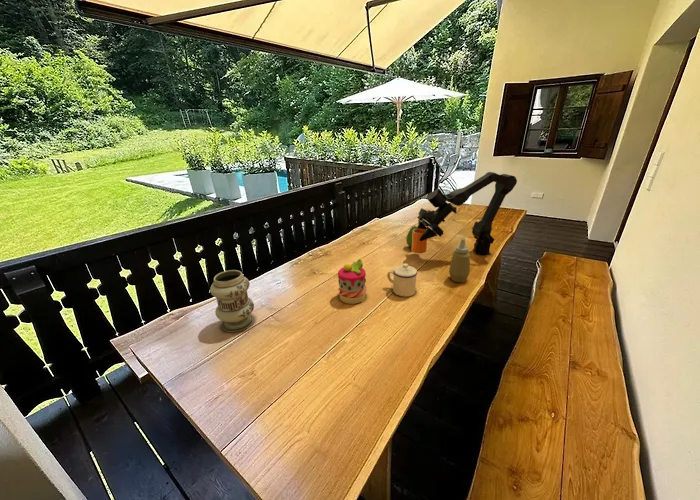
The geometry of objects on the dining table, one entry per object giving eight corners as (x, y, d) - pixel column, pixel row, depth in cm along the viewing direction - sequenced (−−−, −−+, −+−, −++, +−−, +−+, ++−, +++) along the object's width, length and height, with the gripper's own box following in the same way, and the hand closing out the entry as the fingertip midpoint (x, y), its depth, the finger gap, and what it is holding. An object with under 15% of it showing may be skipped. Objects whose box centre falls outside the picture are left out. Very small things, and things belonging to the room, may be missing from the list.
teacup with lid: (419, 289, 119) (421, 262, 114) (409, 299, 112) (411, 271, 107) (392, 281, 125) (393, 256, 121) (381, 290, 118) (382, 264, 114)
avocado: (414, 251, 154) (416, 229, 150) (403, 247, 160) (404, 226, 155) (424, 247, 159) (425, 225, 155) (412, 243, 165) (413, 222, 160)
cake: (346, 307, 108) (345, 269, 102) (334, 293, 117) (332, 258, 111) (371, 299, 113) (371, 263, 107) (357, 287, 121) (357, 253, 116)
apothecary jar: (227, 312, 107) (218, 267, 100) (261, 312, 106) (253, 266, 99) (212, 334, 95) (200, 284, 89) (249, 334, 95) (240, 284, 88)
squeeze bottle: (469, 284, 121) (476, 243, 114) (449, 283, 123) (453, 242, 116) (466, 275, 128) (472, 236, 122) (447, 274, 130) (451, 235, 123)
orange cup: (426, 248, 147) (428, 229, 143) (424, 254, 141) (426, 234, 137) (413, 247, 149) (414, 228, 145) (410, 252, 143) (411, 232, 139)
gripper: (422, 198, 145) (399, 221, 148) (439, 207, 128) (413, 234, 131) (436, 212, 149) (413, 235, 152) (454, 223, 132) (428, 249, 135)
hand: (416, 237), depth 142 cm, fingers closed on orange cup, 7 cm apart
